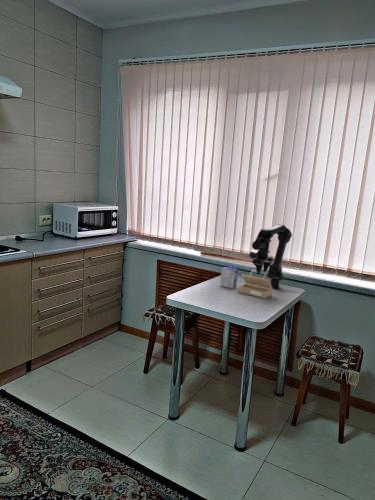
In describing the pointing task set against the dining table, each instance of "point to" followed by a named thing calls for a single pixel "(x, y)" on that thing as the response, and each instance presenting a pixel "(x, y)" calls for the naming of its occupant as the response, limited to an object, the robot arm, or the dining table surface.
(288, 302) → the dining table surface
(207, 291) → the dining table surface
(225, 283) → the ink cartridge box
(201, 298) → the dining table surface
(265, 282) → the flap
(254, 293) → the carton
